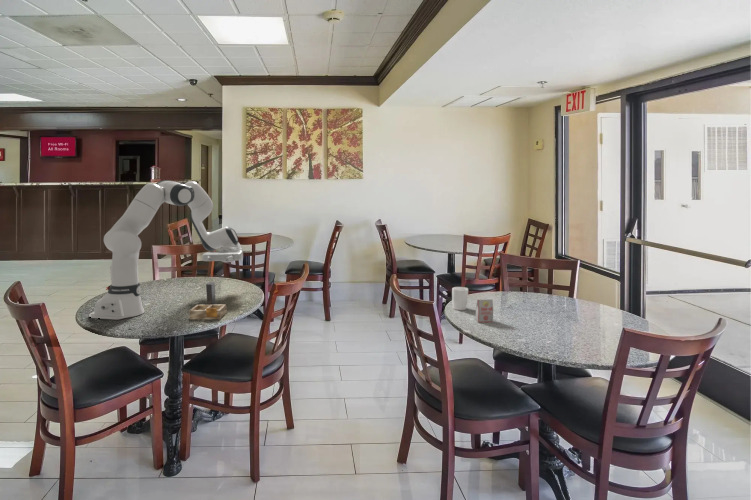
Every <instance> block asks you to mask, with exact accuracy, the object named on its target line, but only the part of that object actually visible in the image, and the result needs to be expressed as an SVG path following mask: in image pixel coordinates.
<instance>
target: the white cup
mask: <svg viewBox="0 0 751 500" xmlns="http://www.w3.org/2000/svg"><path fill="white" fill-rule="evenodd" d="M468 296H469V288H468V287H464V286H454V287H452V288H451V301H452V309H453V310H455V311H465V310H467V306H468V299H469V297H468Z"/></svg>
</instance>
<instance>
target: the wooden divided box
mask: <svg viewBox="0 0 751 500" xmlns="http://www.w3.org/2000/svg"><path fill="white" fill-rule="evenodd" d="M227 313H228V309H227V304H216V305H207V304H196V305H195V306H193V307H191V309H189V317H188V320H221V319H222V318H223V317H224V316H225V315H226V314H227Z"/></svg>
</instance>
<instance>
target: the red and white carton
mask: <svg viewBox="0 0 751 500" xmlns="http://www.w3.org/2000/svg"><path fill="white" fill-rule="evenodd" d="M475 321H476V322H477V323H479V324H480V323H482V324H483V323H493V322H494V302H493V299H477V301H476V307H475Z"/></svg>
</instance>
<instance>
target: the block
mask: <svg viewBox="0 0 751 500" xmlns="http://www.w3.org/2000/svg"><path fill="white" fill-rule="evenodd" d="M205 290H206V305H217V301H216V284H215V281H209V282H207V283H206V285H205Z"/></svg>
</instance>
